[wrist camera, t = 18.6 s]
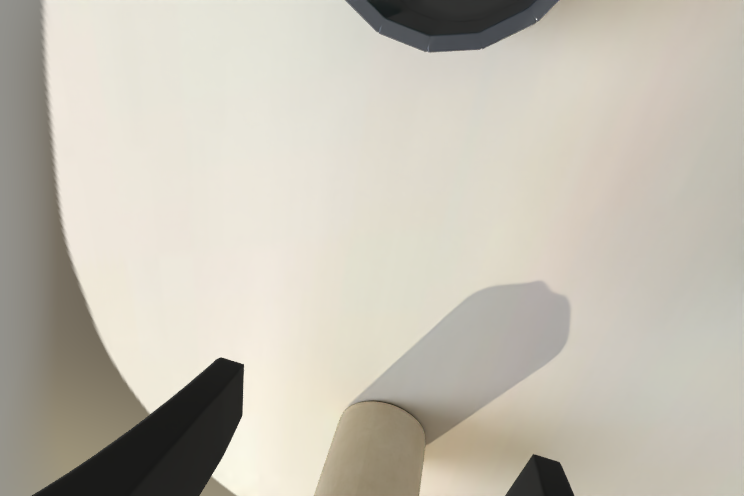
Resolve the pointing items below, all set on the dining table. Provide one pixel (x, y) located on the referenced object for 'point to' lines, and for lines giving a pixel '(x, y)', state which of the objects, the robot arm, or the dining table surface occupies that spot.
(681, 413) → the dining table surface
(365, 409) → the candle
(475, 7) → the cup
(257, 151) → the dining table surface
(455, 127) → the dining table surface
